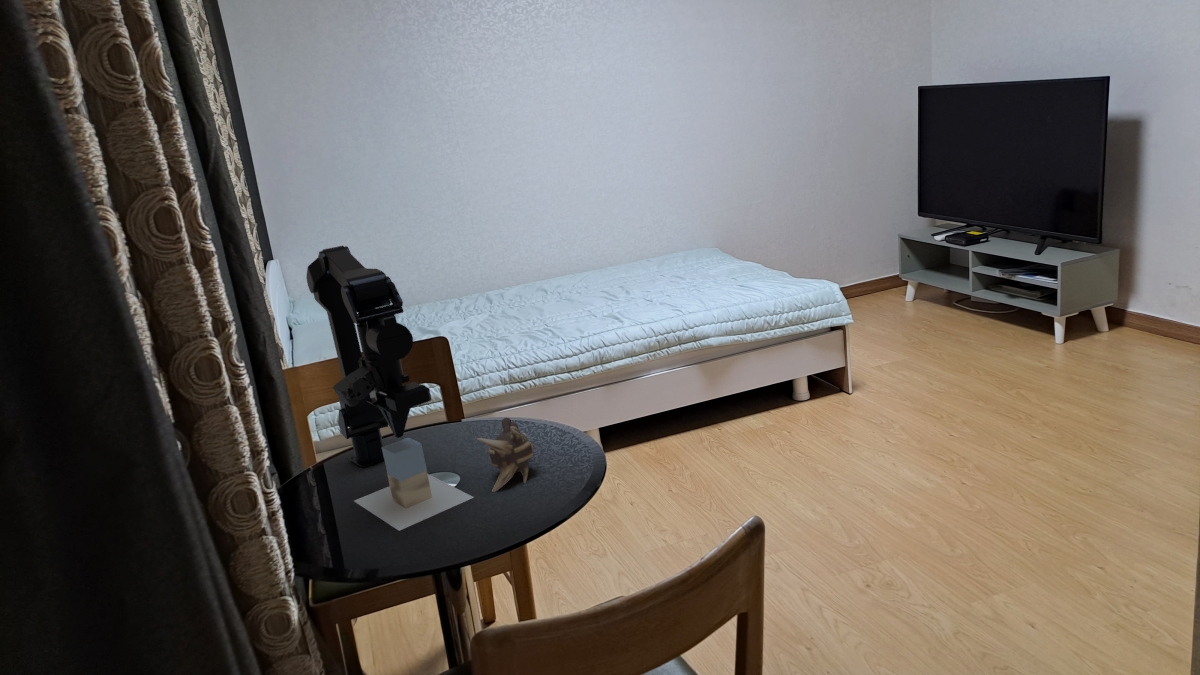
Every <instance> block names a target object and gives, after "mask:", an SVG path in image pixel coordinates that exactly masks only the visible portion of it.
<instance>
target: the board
mask: <svg viewBox="0 0 1200 675" xmlns="http://www.w3.org/2000/svg"><path fill="white" fill-rule="evenodd" d="M427 475H428V480H429V484H430V489H431V494H432V498H430V499H427V500H425V501H423V502H420V503H418V504H416V505H413V506H411V507H409V508H404V507H403V506H401V505H399V504H398V503H396V502H394V501H393V498H392V494H391V489H390V485H389V486H387V487H384V488H382V489H379V490H376V491H374V492H373V493H369V494H367V495H365V496H362V497H360V498H357V499H355V500H353V502H354V503H356V504H357V505H358V506H360V507H362V508H364V509H365V510H367V511H368V512H369V513H371V514H373V515H374V516H376V517H377V518H379V519H380V520H381V521H384V522H385V523H386V524H388V525H389V526H391V527H392V528H394V529H396V530H397V531H399V532H400V531H402V530H404V529H406V528H409V527H411V526H413V525H416V524H418V523H420V522H423V521H425V520H427V519H430V518H431V517H433V516H436V515H438V514H440V513H442V512H445V511H447V510H449V509H451V508H454V507H456V506H458V505H461V504H462V503H463V504H464V503H465V502H467V501H469V500H471V499H474V496H472V495H471V494H468V493H466V492H464V491H462V490H460V489H458V488H457V487H454V486H452V485H451V484H448V483H446V482H445V481H443V480H442V479H441V480H440V479H438V478H437V477H435V476H432V475H431V474H429V473H427Z"/></svg>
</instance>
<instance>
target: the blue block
mask: <svg viewBox="0 0 1200 675" xmlns="http://www.w3.org/2000/svg"><path fill="white" fill-rule="evenodd" d="M382 451H383V456H384V460H383V461H384V464H385V469H386V472H387V474H388V475H390V476H392V477H394V478H395V479H397V480H399V481H403V480H405V479H408V478H410V477H412V476H415V475H417V474H420V473H422V472H425V471H427V472H428V468H427V463H426V459H425V455H424V454H425V452H424V450H423V445H422V442H419V441H417V440H414V439H413V438H411V437H405V438H403V439H399V440H398V441H395V442H392V443H389V444H386V445H384V447H382ZM387 474H386V475H387Z"/></svg>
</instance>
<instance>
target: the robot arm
mask: <svg viewBox="0 0 1200 675" xmlns="http://www.w3.org/2000/svg"><path fill="white" fill-rule="evenodd" d="M306 283H307V287H308V289H309V292H310V293H311V294H313V297H314V298H313V299H314V300H315V302H317V303H318V305H320V306H321V308H323V309H324V310H325V311H326V315H327V318H328V321H329V326H330V331H331V335H332V338H333V344H334V347H335V352H336V355H337V360H338V364H339V368H340V374H341V376H342V379H341V380H339V381H338V382H337V383H335V384H334V385H333V387H332V389H333V390H334V392H335V394H336V395H337V396H338V397H339V398H338V401H339V406H340V409H338V416H337V417H338V421H337V422H338V423H337V424H338V427H339V431H340V434H341V435H342V436H343V438H345V439H346V440H349V439H351V443H352V448H353V451H354V456H352V457H349V461H350V462H351V463H353V464H355V465H357V466H358V467H360V468H365V467H369V466H370V465H373V464H376V463H379V462H382V461H385V460H384V456H383V451H382V447H384V446H385V445H384V442H383V437H382V433H381V429H383V428H388V427H389V429H390V430H391V432H392V434H393V435H394V437H395V438H397V439H399V438H402V437H403V436H404V433H405V429H406V425H407V421H408V418H409V414H410V411H411V408H415V407H417V406H420V405H422V404H423V405H424V404H425V403H428V402H431V400H432V395H431V390H430V388H429V387H428V386H426V385H424V384H422V383H418V382H415V381H412V382H410V377H409V375H408V374H405V373H404V370H403V364H402V360H401V359H405V357H407V356H408V354H409V353H410V352H411V350H412V348H413V345H414V338H413V334H412V333H411V331H410V329H409V328H408V327H407V326H405V325H404V324H401V323H400V322H398V321H397V317H396V315H398V314H402V313H404V309H403V304H404V301H403V299H402V297H401V294H400V293H399V290H398V289H397V287H396V285H395V282H394V281H392V279H391V277H390V276H387V275H386V273H385V272H384V271H383V270H381V269H378V268H366V266H364V265H363V264H362V263H361V262H360V261H359V260H358V259H357V258H356V257H355V256H354V255H353V254H352V252H351V250H350V248H349V247H348V246H347V245H346V246H344V245H339V246H333V247H329V248H328V247H327V248H324V249H322V250H321V251H318V256H317V258H315V260H313V261H312V262H311V263H310V264H308V266H307V268H306ZM355 324H356V325H355ZM405 383H406V384H405Z"/></svg>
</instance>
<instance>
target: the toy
mask: <svg viewBox="0 0 1200 675" xmlns="http://www.w3.org/2000/svg"><path fill="white" fill-rule="evenodd" d="M501 426H502V431H501V433H500V434H499V435H498V436H496V437H495V438H494V439H492V438H491V439H489V438H483V437H482V438H480V437H477V438H476V440H477V441H479V442H480V443H482V444H484V445H485V446H487V447H489V448H488V451H487V452H488V453H489V454H488V455H489V458H490V460H491V464H492V466H494V467H496V468H497V469H498V470H500V471H499V474H498V477H497V479H496V482H495V483H494V485H493V487H492V489H491V492H493V493H496V492H497V491H499V490H500V489H501V488H503V487H504V486H505V485H506V484H507V483H508V482H509V481H510V480H511V479H512V478H513V477H514V475H515V473H519V472H520V473H521V475H522V480H523V484H526V483H527V479H528V475H529V462H530V460H531V459H532V457H533V456H534V445H533V444H532V442H531V441H530V440H529V438H528V436H527V433H525V432H520V430H519V425H518V424H517V423H515V422H512V420H511V419H510V418H509V417H504V418H502V421H501Z"/></svg>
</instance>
